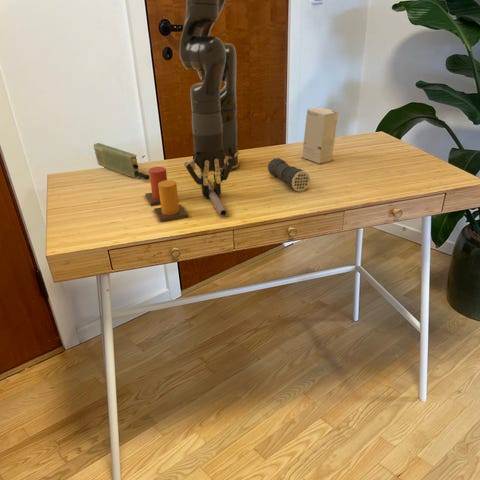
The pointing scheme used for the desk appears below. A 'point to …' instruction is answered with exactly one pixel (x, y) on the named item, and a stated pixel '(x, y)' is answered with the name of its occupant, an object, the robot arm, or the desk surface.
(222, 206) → the metal rod
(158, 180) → the red peg stand
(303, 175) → the flashlight
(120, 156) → the handheld radio
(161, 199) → the ochre post
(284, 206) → the desk surface
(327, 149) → the pale wooden block
